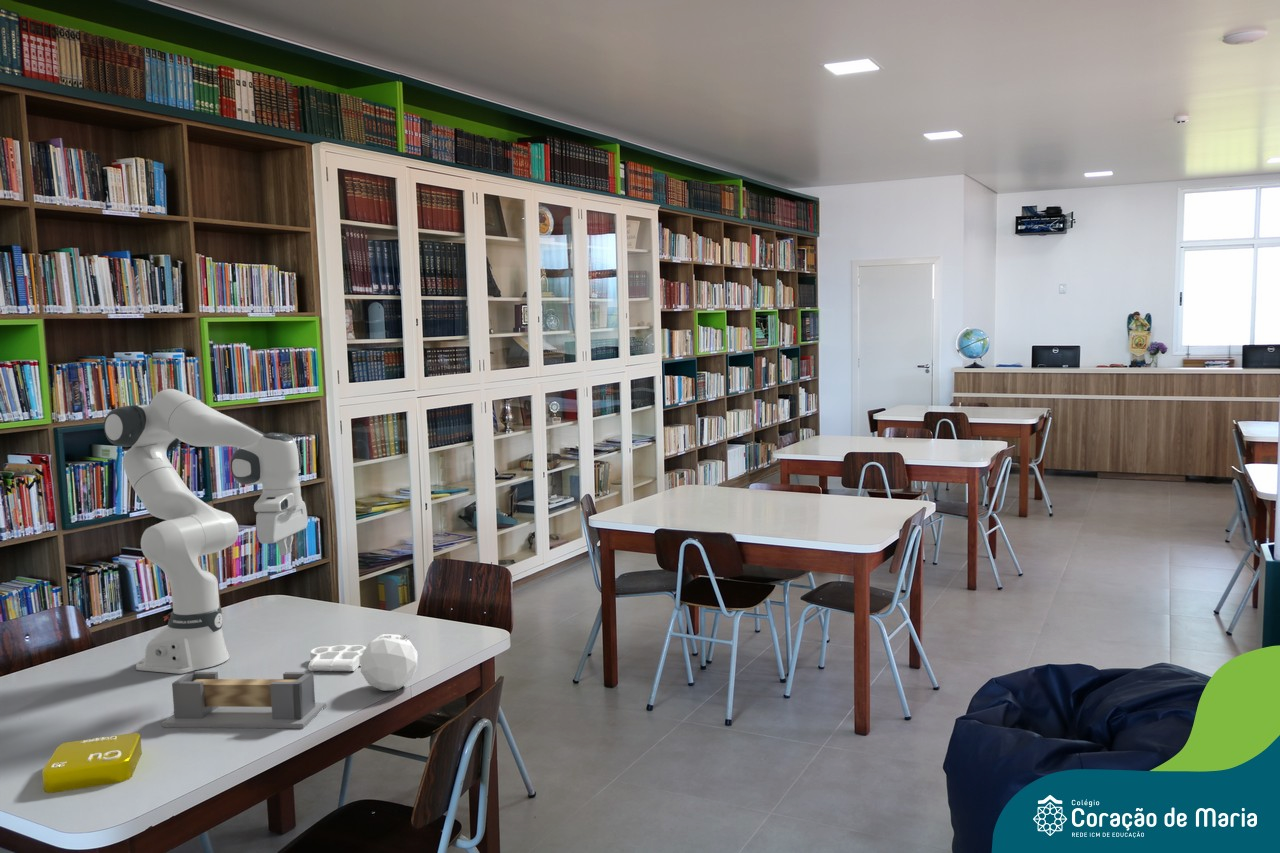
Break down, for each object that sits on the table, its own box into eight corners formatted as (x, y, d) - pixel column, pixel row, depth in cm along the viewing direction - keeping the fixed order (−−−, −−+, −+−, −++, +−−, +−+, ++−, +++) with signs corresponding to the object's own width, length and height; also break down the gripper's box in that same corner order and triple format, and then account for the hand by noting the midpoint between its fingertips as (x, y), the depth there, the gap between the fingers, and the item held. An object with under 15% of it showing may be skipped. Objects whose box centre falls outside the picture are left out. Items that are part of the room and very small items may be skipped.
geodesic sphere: (429, 650, 239) (392, 611, 235) (438, 667, 226) (399, 627, 222) (383, 691, 236) (346, 653, 232) (390, 710, 223) (350, 670, 219)
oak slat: (189, 706, 213) (188, 684, 213) (198, 700, 217) (196, 679, 216) (293, 706, 211) (292, 685, 211) (300, 700, 215) (299, 679, 214)
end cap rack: (162, 726, 209) (159, 687, 209) (192, 705, 221) (189, 668, 221) (303, 728, 207) (300, 687, 206) (326, 706, 219) (323, 668, 218)
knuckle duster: (296, 674, 242) (321, 655, 257) (365, 674, 240) (386, 655, 255) (295, 661, 242) (320, 642, 256) (364, 661, 240) (385, 643, 254)
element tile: (143, 751, 198) (141, 728, 197) (130, 782, 184) (128, 758, 183) (61, 763, 193) (59, 740, 193) (41, 796, 179) (39, 771, 179)
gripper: (288, 492, 246) (291, 544, 248) (250, 506, 226) (253, 563, 227) (312, 491, 246) (315, 544, 247) (275, 505, 225) (279, 563, 227)
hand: (285, 553), depth 237 cm, fingers closed
